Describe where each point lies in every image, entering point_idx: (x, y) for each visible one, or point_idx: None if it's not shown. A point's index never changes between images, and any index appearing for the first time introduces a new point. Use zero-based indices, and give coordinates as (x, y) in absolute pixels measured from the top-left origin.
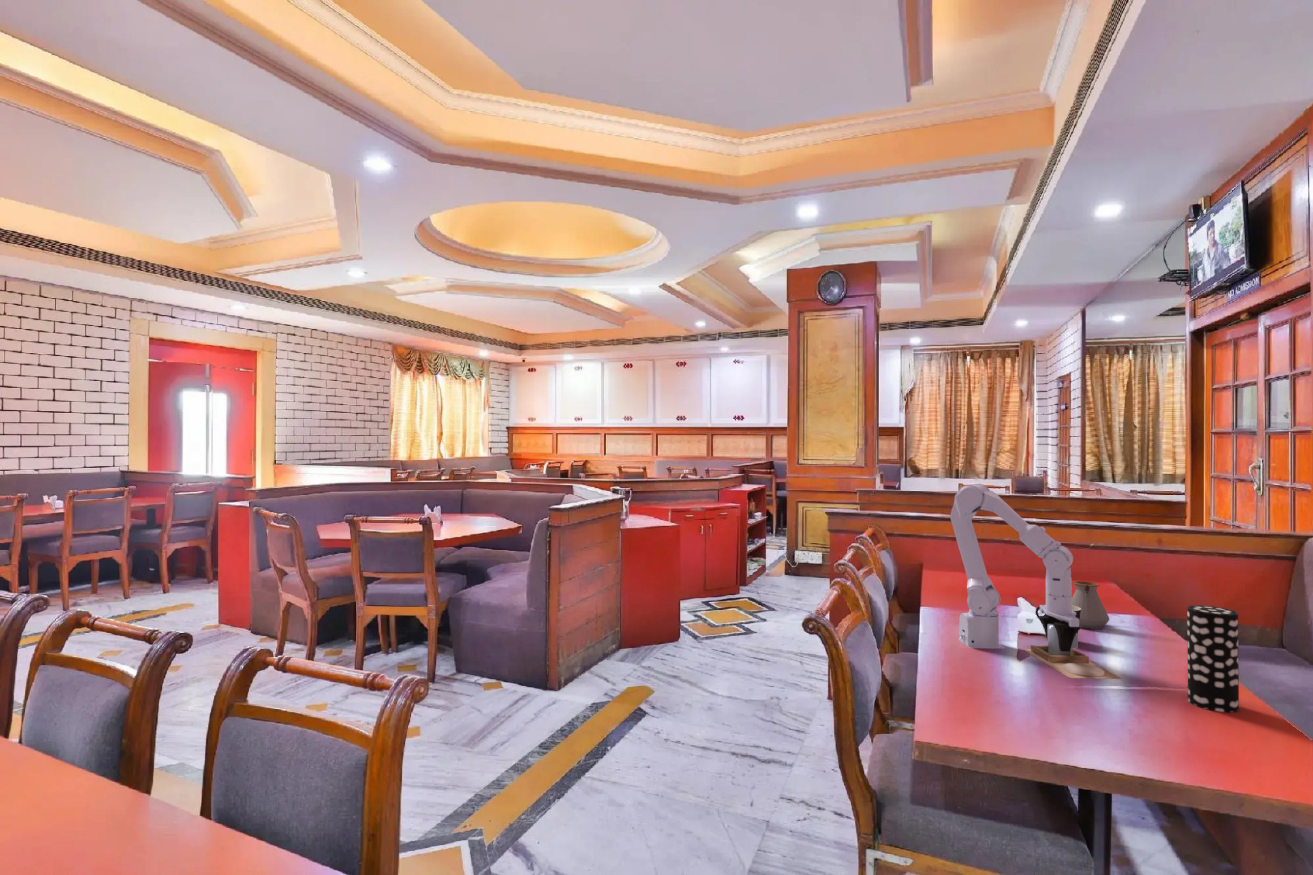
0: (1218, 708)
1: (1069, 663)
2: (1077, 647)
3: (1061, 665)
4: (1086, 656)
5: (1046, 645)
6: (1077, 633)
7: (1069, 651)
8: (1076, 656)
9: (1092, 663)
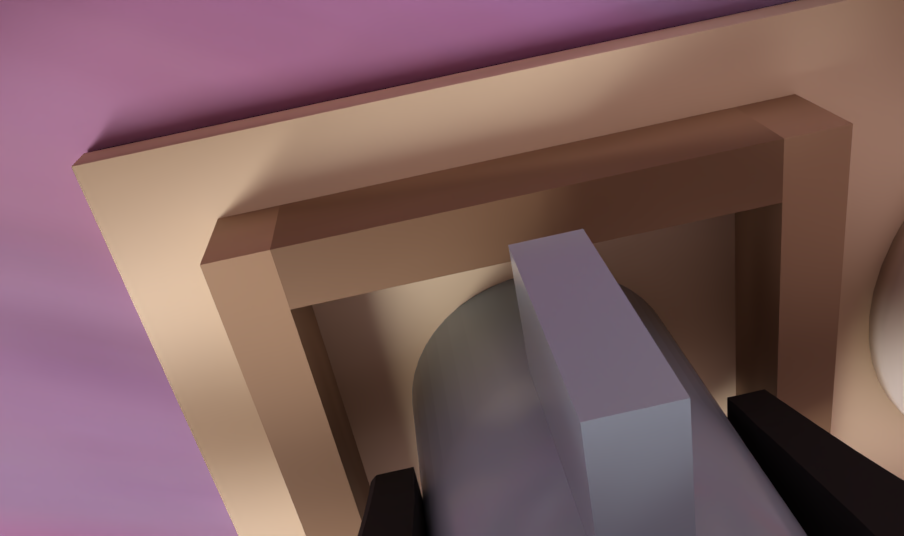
0: None
1: (889, 371)
2: (584, 238)
3: (869, 432)
4: (829, 153)
5: (316, 531)
6: (682, 404)
7: (767, 393)
8: (827, 297)
9: (797, 38)
